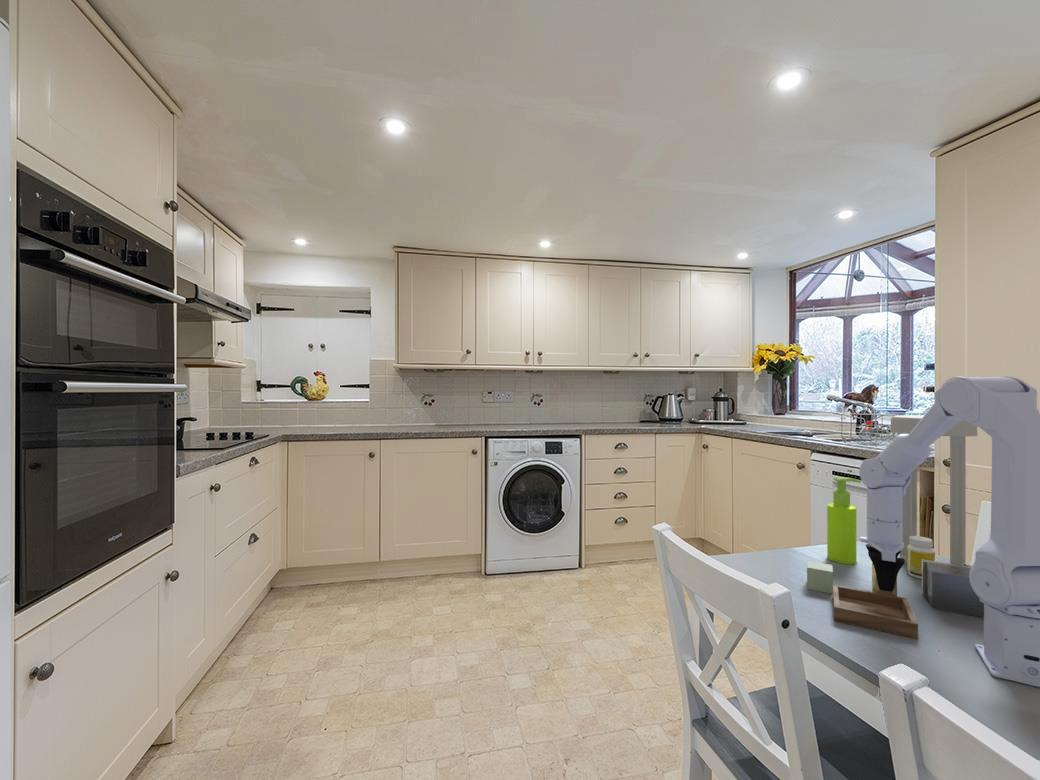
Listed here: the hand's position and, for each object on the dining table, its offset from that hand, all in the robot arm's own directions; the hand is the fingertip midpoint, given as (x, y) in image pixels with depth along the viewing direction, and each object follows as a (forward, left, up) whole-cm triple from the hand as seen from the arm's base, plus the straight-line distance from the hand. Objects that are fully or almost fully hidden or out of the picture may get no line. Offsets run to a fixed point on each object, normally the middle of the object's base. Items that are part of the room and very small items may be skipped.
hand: (884, 586), depth 95 cm
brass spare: (0, 0, -2) cm, 2 cm away
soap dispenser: (+20, +6, -2) cm, 21 cm away
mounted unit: (+1, -11, -2) cm, 11 cm away
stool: (+30, -12, -2) cm, 32 cm away
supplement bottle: (+17, -8, -2) cm, 19 cm away
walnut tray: (-12, +3, -2) cm, 13 cm away
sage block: (-2, +11, -2) cm, 11 cm away
